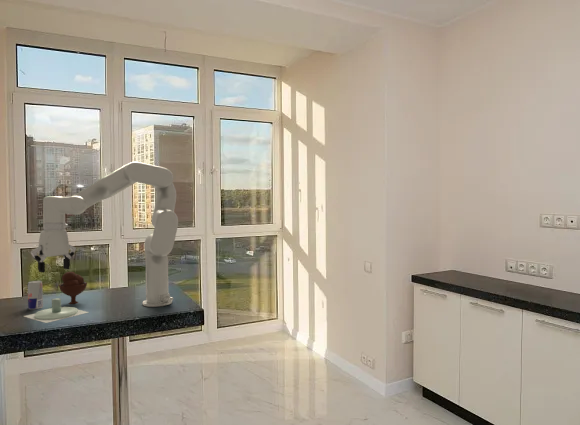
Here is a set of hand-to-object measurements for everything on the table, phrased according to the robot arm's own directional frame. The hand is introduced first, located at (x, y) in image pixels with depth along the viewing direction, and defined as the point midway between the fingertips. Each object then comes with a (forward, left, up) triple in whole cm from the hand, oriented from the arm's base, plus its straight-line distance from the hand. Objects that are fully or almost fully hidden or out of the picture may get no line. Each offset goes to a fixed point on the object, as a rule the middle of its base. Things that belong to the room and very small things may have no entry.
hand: (54, 270), depth 166 cm
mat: (0, 0, -19) cm, 19 cm away
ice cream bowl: (+12, -14, -19) cm, 26 cm away
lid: (0, 0, -18) cm, 18 cm away
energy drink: (+18, -1, -19) cm, 26 cm away
